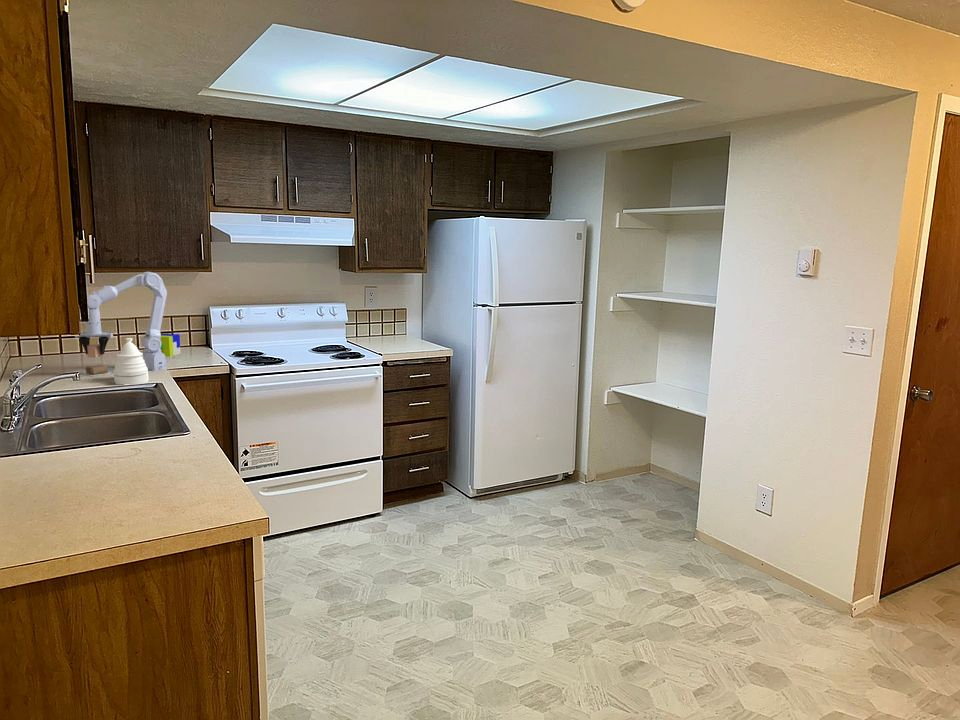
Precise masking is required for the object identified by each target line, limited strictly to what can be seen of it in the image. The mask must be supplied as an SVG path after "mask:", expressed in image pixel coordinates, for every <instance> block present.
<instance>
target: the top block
mask: <svg viewBox="0 0 960 720" xmlns="http://www.w3.org/2000/svg"><path fill="white" fill-rule="evenodd" d="M87 351H88V355H87V358H96V359H97V358H100V357H103V356H104V354H103V355H101V353H100V344H99V343H94V344H93V343H92V344H89V345H87Z"/></svg>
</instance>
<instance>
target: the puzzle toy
mask: <svg viewBox="0 0 960 720" xmlns="http://www.w3.org/2000/svg"><path fill="white" fill-rule="evenodd" d="M160 334H161V338H160V340H161V344H162V345H161V348H160V349H161V352H162V353H163V354H164V355H165V356H166V357H169V358H170V357H173V356H176V355H180V354H181V341H180V340H181V338H180V336H181V335H180V334H178V333H176V334H175V333H160Z"/></svg>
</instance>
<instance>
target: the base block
mask: <svg viewBox="0 0 960 720" xmlns="http://www.w3.org/2000/svg"><path fill="white" fill-rule="evenodd" d="M107 368H108V366H107V365H103V364H96V365H94V364H93V365H87V366H85V372H86V374H90V375H99V374H105V373H108V370H107Z"/></svg>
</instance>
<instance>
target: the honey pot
mask: <svg viewBox="0 0 960 720" xmlns="http://www.w3.org/2000/svg"><path fill="white" fill-rule="evenodd" d="M133 339H134V338H133V337H127V338H125V342H126V343H125V344H123V346H122V348H121V349H120V351H119V352H118V353H116V354H115V356H116V359H117V360H116V361H115V366H114V367H115V369H114V373H113V382H114V384H115V383H117V384H116V385H118V384H129V385H130V384H134V385H140V384H146V383H147V382H149V380H150V379H149V370H148V368H147V367H146V364H145V361H144V355H143V352H141V351H140V350H139V348H138V347H137V345H135V344H134V343H133ZM129 385H128V386H129ZM130 386H131V385H130Z"/></svg>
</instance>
